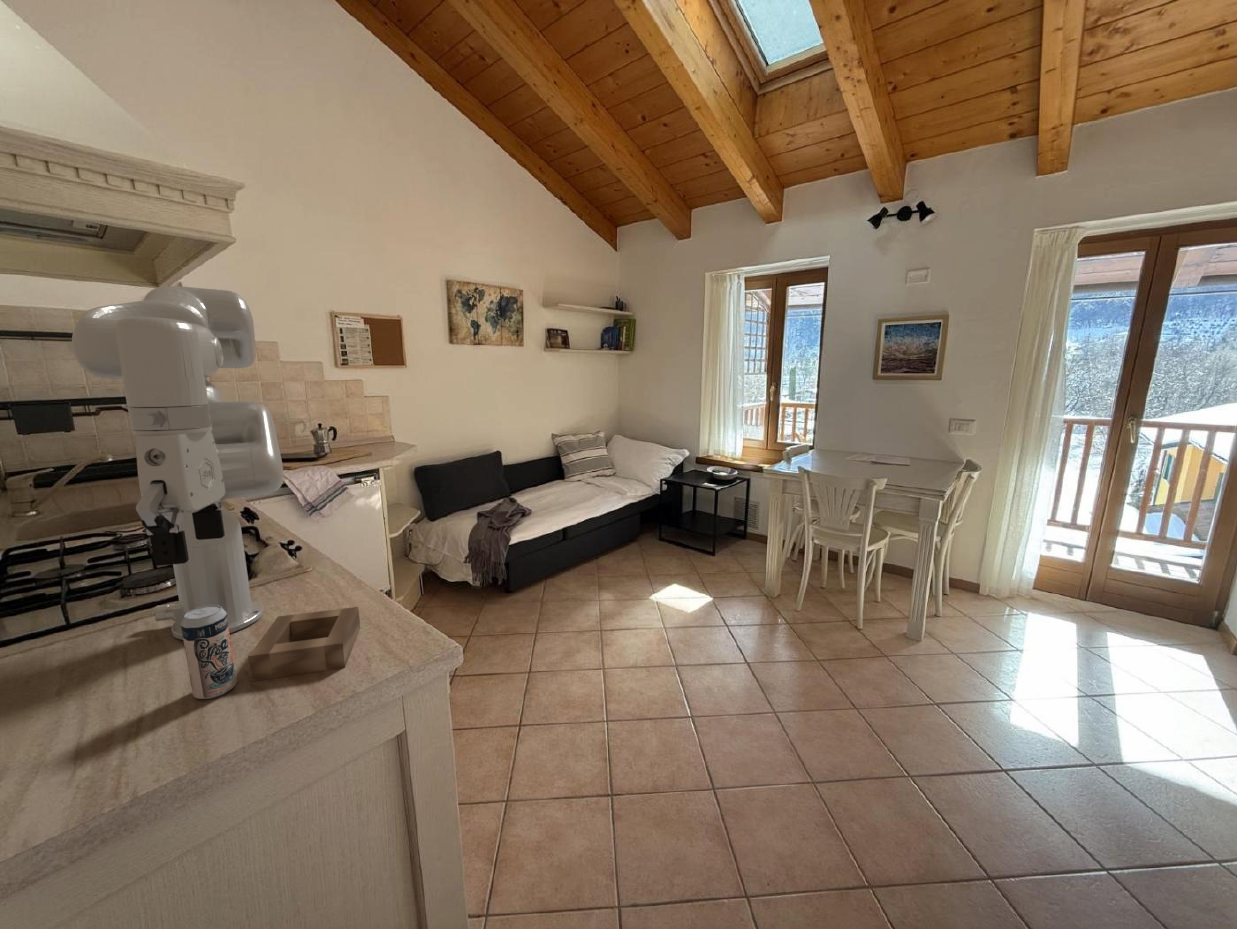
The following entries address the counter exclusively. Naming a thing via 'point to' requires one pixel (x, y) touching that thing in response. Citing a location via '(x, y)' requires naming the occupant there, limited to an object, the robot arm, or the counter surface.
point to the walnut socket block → (305, 643)
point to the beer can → (208, 651)
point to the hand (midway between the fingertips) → (192, 550)
